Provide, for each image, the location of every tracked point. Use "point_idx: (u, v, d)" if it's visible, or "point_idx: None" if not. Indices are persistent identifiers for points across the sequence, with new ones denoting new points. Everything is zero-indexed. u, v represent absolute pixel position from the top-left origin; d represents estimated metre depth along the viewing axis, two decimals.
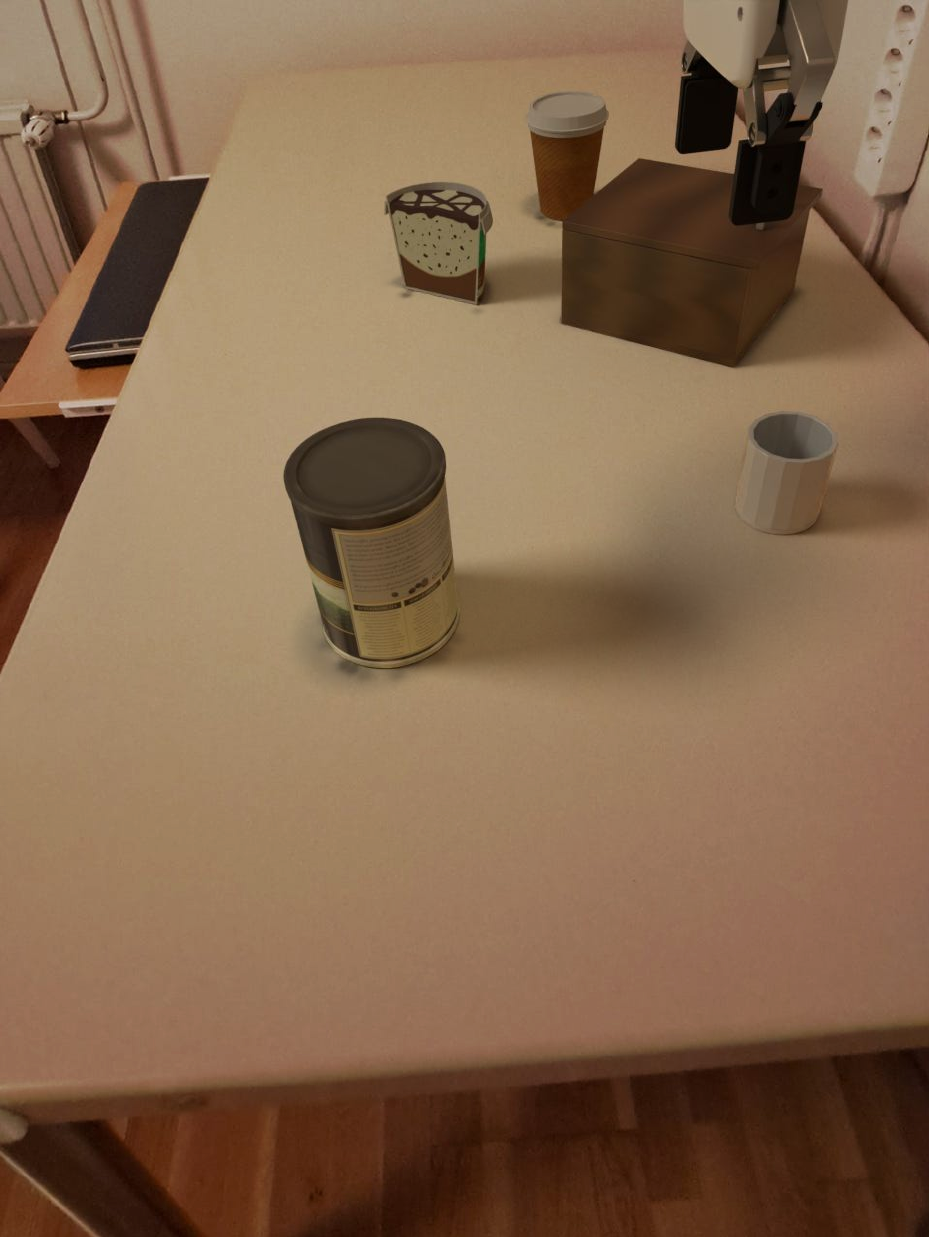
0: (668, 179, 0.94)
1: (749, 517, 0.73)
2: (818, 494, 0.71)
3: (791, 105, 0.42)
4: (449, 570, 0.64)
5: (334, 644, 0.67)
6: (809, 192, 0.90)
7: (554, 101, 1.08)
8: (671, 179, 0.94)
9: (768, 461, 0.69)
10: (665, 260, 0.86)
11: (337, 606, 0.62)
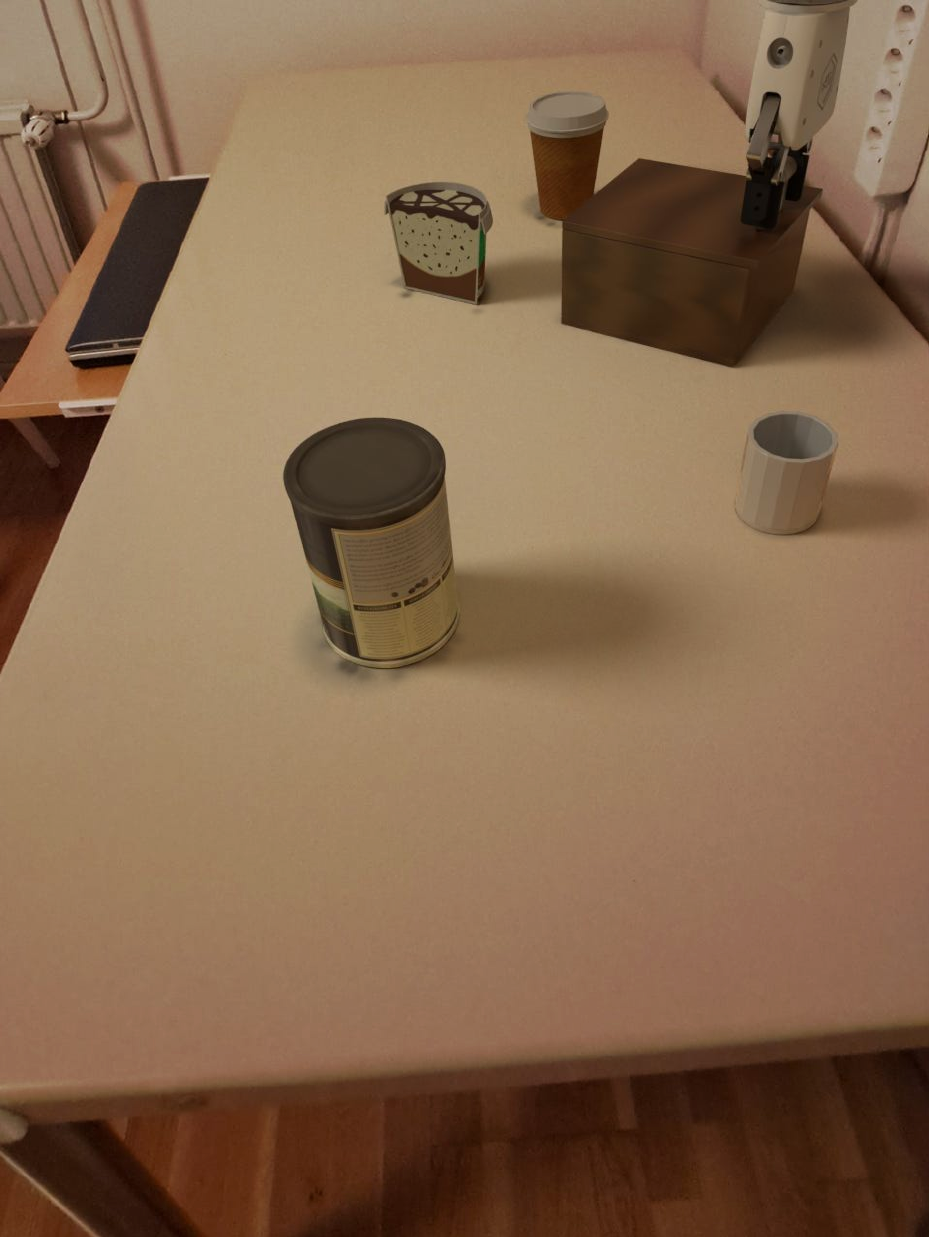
0: (668, 179, 0.94)
1: (749, 517, 0.73)
2: (818, 494, 0.71)
3: None
4: (449, 570, 0.64)
5: (334, 644, 0.67)
6: (809, 192, 0.90)
7: (554, 101, 1.08)
8: (671, 179, 0.94)
9: (768, 461, 0.69)
10: (665, 260, 0.86)
11: (337, 606, 0.62)
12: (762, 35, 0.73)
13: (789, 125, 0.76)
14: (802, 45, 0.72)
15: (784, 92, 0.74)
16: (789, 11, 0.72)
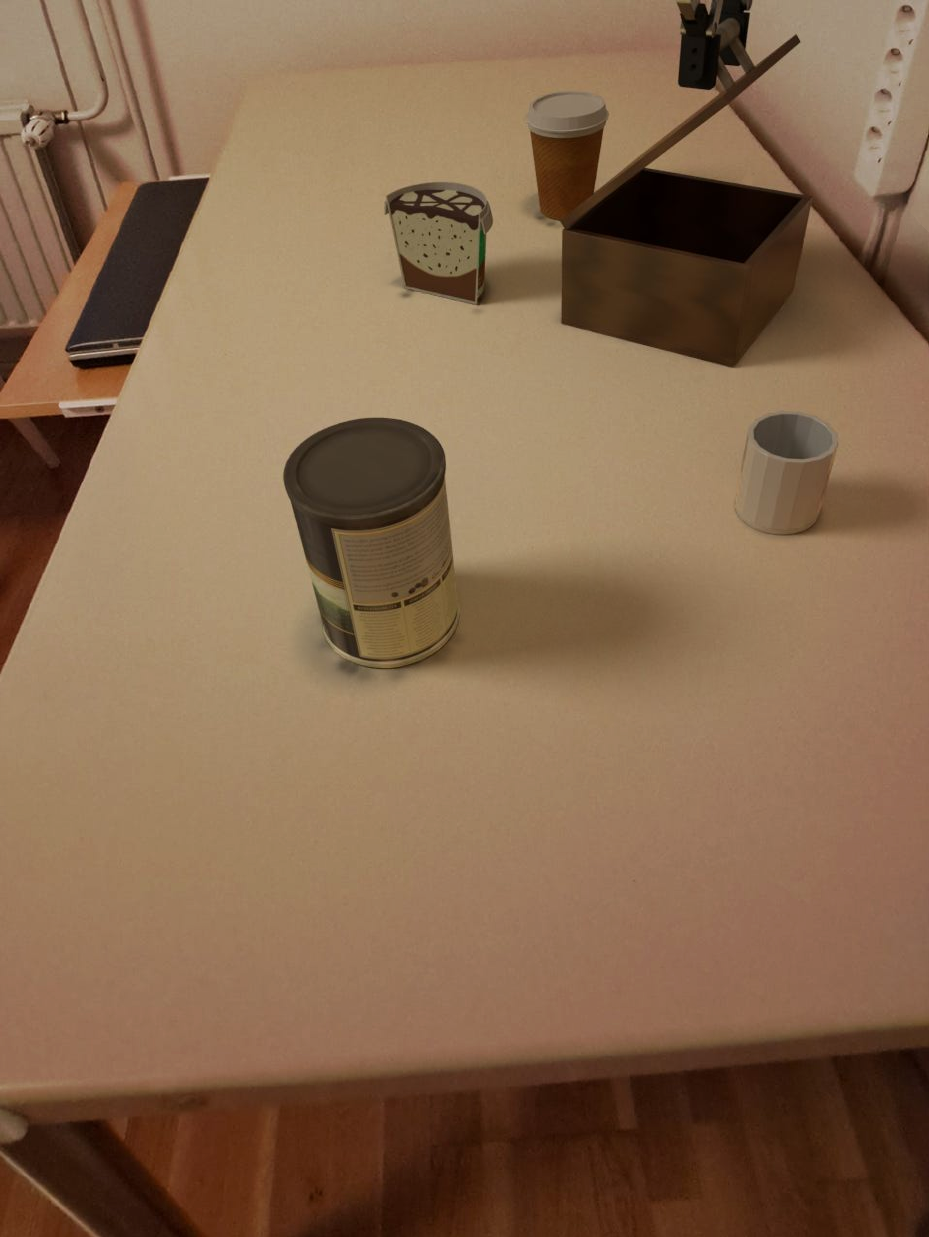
0: (657, 142, 0.92)
1: (749, 517, 0.73)
2: (818, 494, 0.71)
3: None
4: (449, 570, 0.64)
5: (334, 644, 0.67)
6: None
7: (554, 101, 1.08)
8: (660, 140, 0.92)
9: (768, 461, 0.69)
10: (665, 260, 0.86)
11: (337, 606, 0.62)
12: None
13: None
14: None
15: None
16: None
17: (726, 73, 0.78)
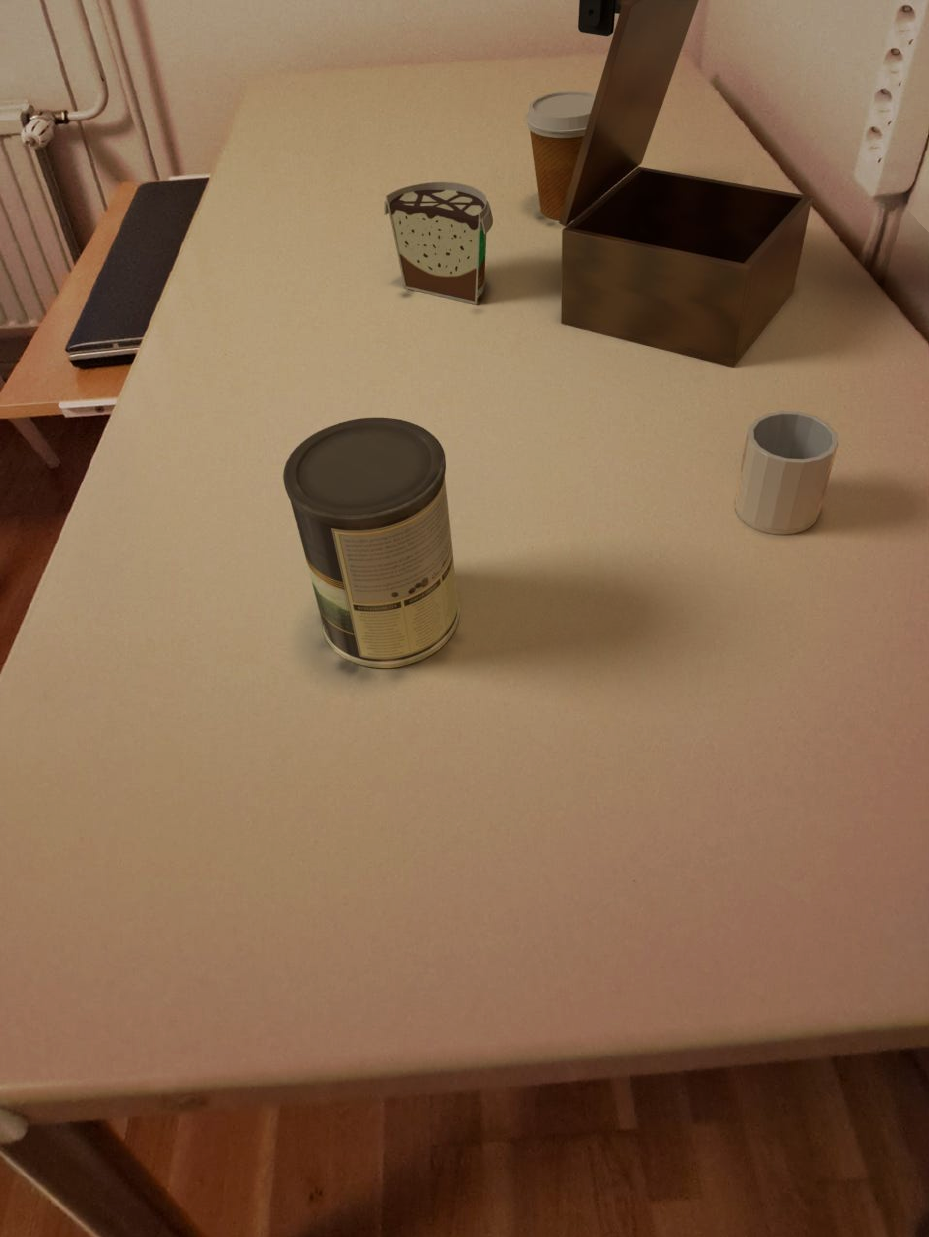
0: None
1: (749, 517, 0.73)
2: (818, 494, 0.71)
3: None
4: (449, 570, 0.64)
5: (334, 644, 0.67)
6: None
7: (554, 101, 1.08)
8: None
9: (768, 461, 0.69)
10: (665, 260, 0.86)
11: (337, 606, 0.62)
12: None
13: None
14: None
15: None
16: None
17: None
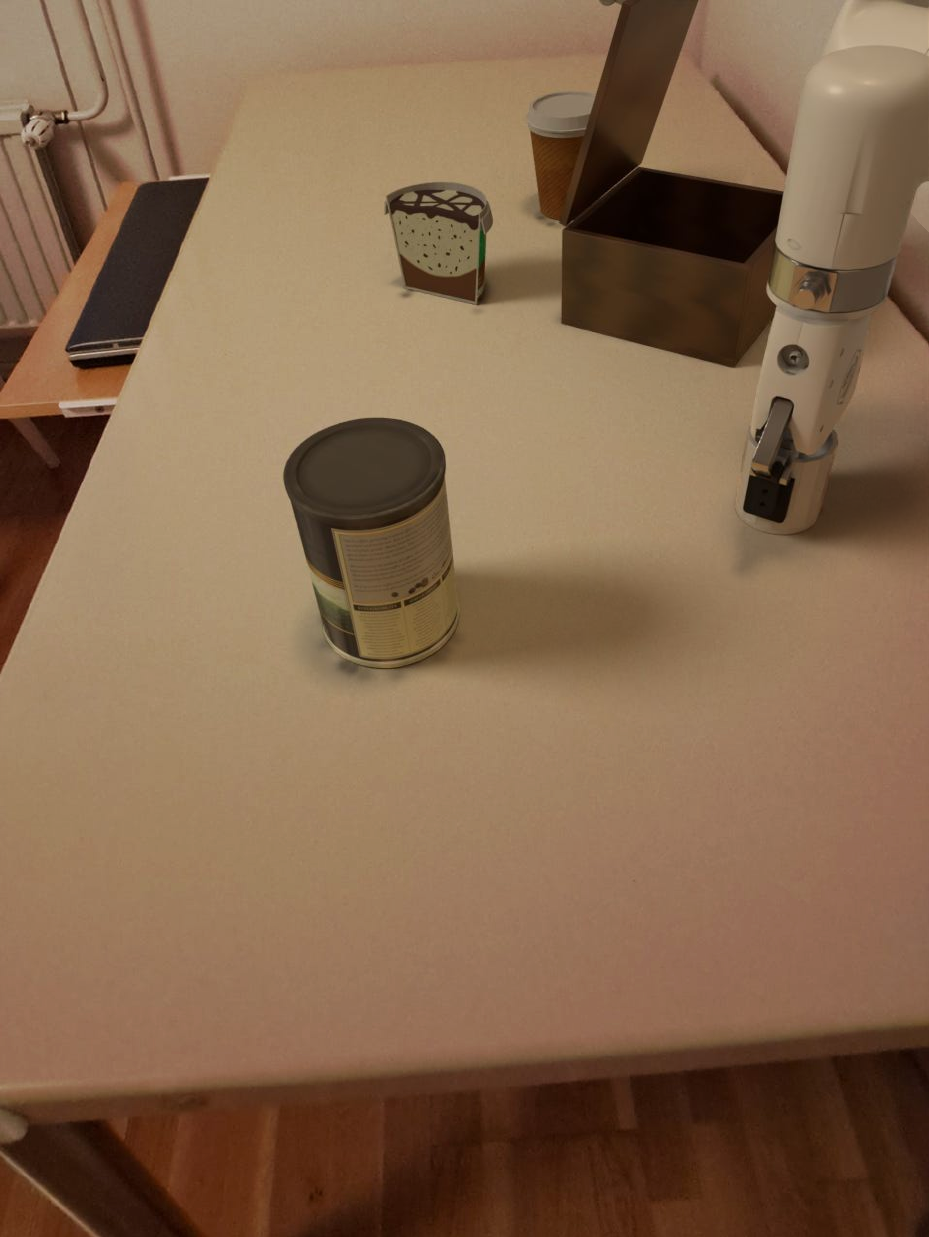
0: None
1: (749, 517, 0.73)
2: (818, 494, 0.71)
3: None
4: (449, 570, 0.64)
5: (334, 644, 0.67)
6: None
7: (554, 101, 1.08)
8: None
9: None
10: (665, 260, 0.86)
11: (337, 606, 0.62)
12: (772, 337, 0.61)
13: (803, 433, 0.63)
14: (820, 356, 0.60)
15: (798, 400, 0.62)
16: (804, 315, 0.60)
17: None
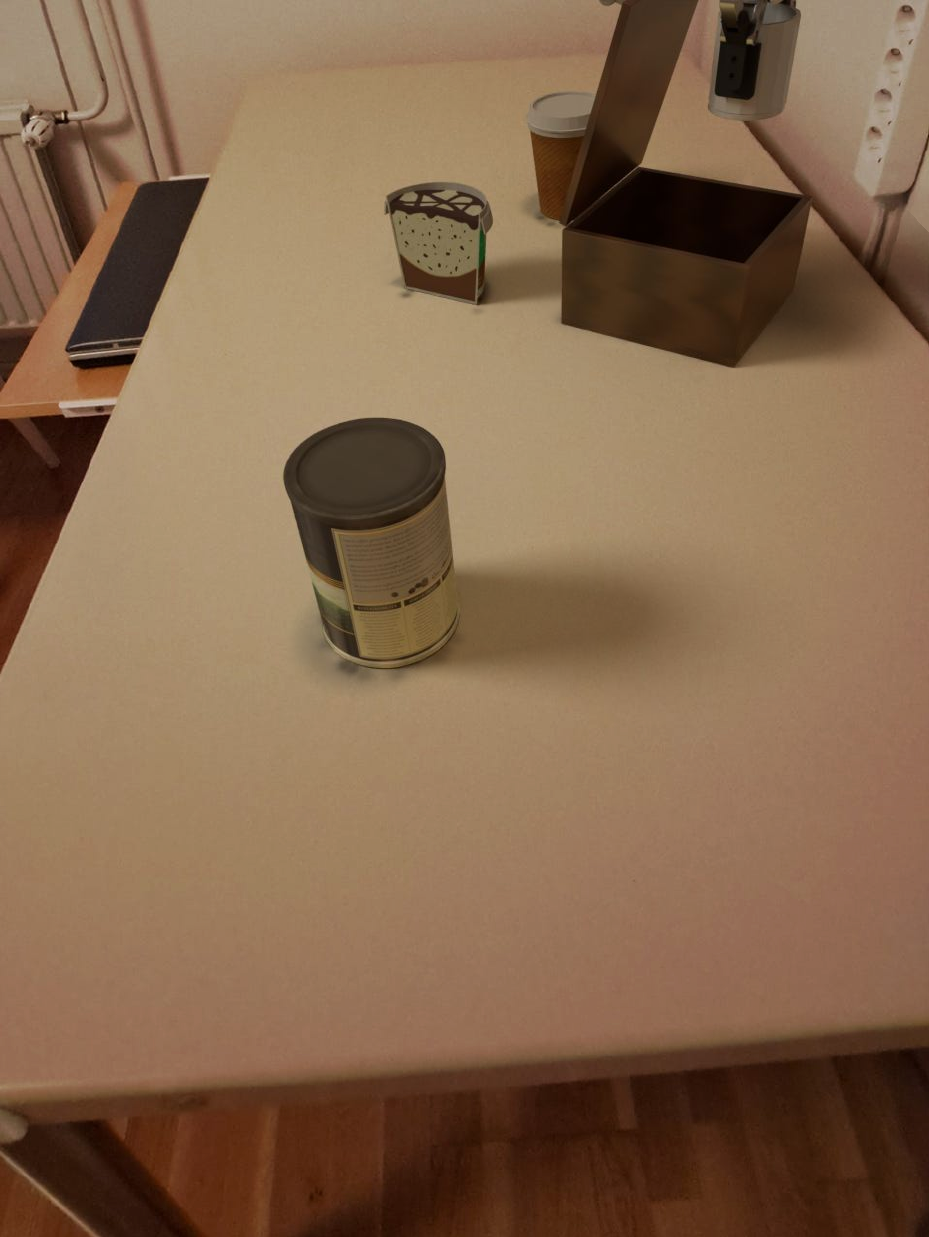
0: None
1: (720, 107, 0.79)
2: (783, 72, 0.76)
3: None
4: (449, 570, 0.64)
5: (334, 644, 0.67)
6: None
7: (554, 101, 1.08)
8: None
9: None
10: (665, 260, 0.86)
11: (337, 606, 0.62)
12: None
13: None
14: None
15: None
16: None
17: None
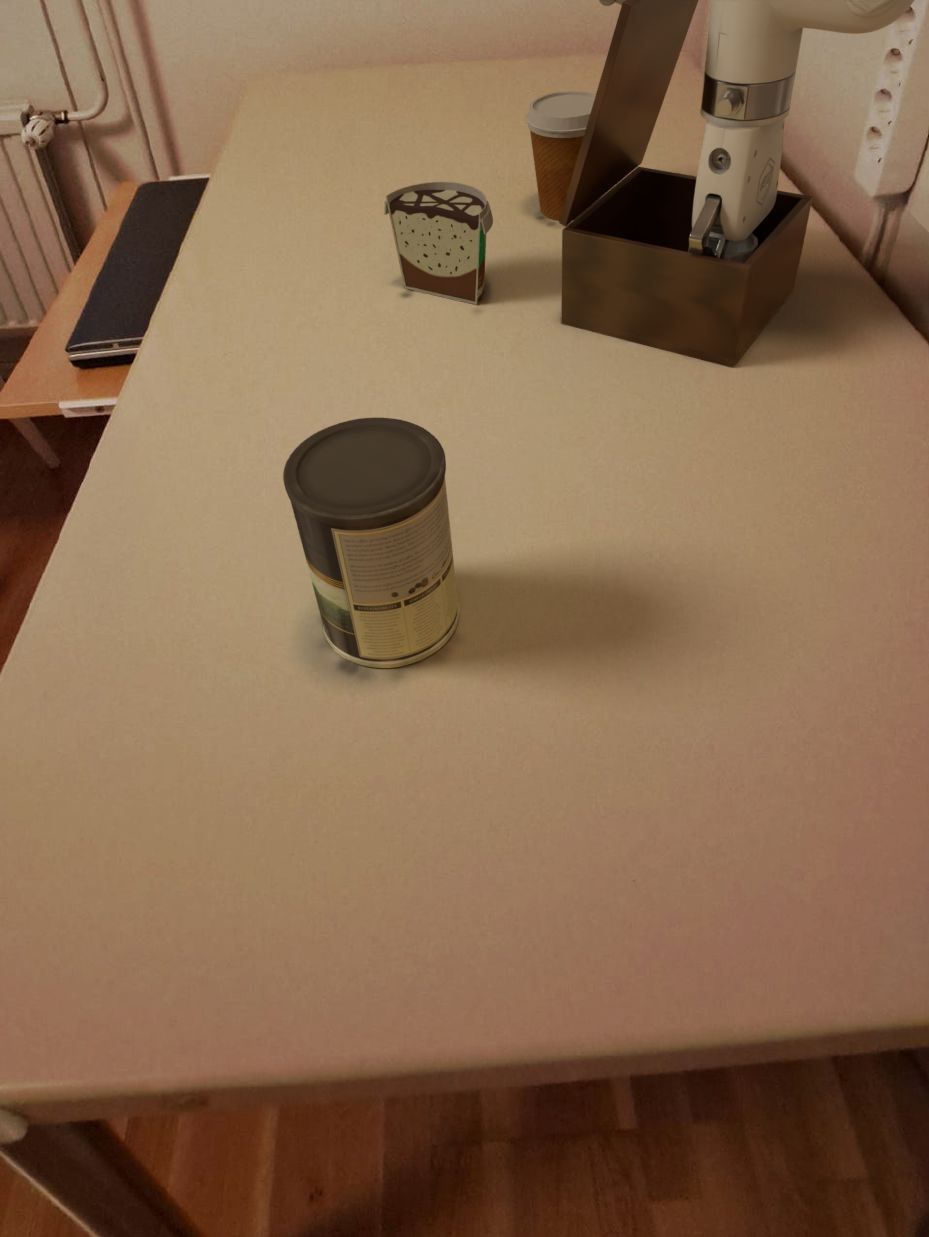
0: None
1: None
2: None
3: None
4: (449, 570, 0.64)
5: (334, 644, 0.67)
6: None
7: (554, 101, 1.08)
8: None
9: None
10: (665, 260, 0.86)
11: (337, 606, 0.62)
12: (703, 145, 0.81)
13: (730, 223, 0.84)
14: (739, 155, 0.80)
15: (724, 194, 0.82)
16: (726, 125, 0.80)
17: None
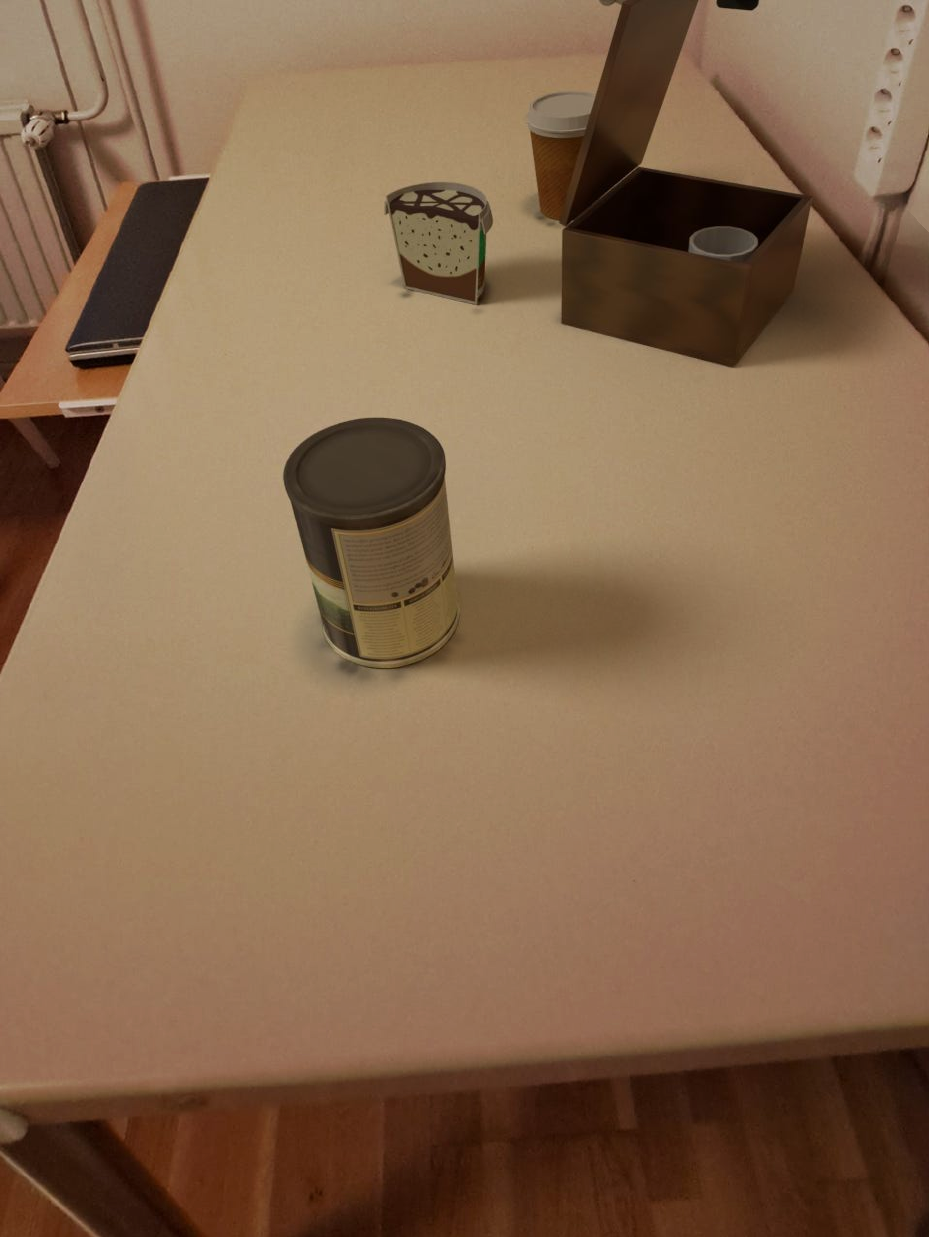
0: None
1: None
2: None
3: None
4: (449, 570, 0.64)
5: (334, 644, 0.67)
6: None
7: (554, 101, 1.08)
8: None
9: None
10: (665, 260, 0.86)
11: (337, 606, 0.62)
12: None
13: None
14: None
15: None
16: None
17: None
